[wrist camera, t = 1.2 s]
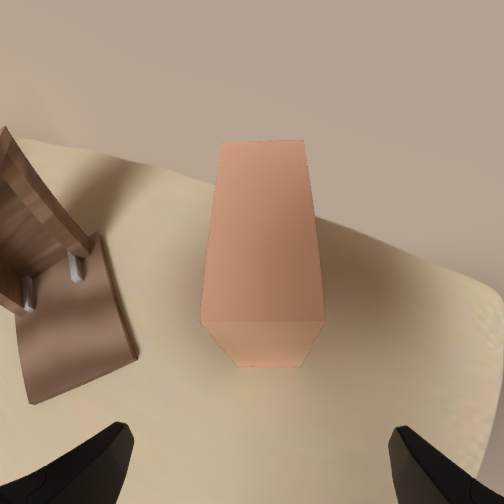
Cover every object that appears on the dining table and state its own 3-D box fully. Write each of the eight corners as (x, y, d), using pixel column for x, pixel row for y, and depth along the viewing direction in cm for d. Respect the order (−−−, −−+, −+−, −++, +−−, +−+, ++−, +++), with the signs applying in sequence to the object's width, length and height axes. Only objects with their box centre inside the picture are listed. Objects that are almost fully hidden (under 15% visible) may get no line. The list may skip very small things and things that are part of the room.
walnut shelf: (137, 359, 21) (-23, 262, 7) (34, 404, 18) (-106, 354, 5) (100, 236, 27) (17, 116, 14) (17, 287, 25) (-75, 205, 11)
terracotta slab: (300, 366, 20) (325, 320, 10) (238, 367, 20) (199, 321, 10) (295, 248, 25) (303, 140, 15) (242, 250, 25) (222, 143, 15)
